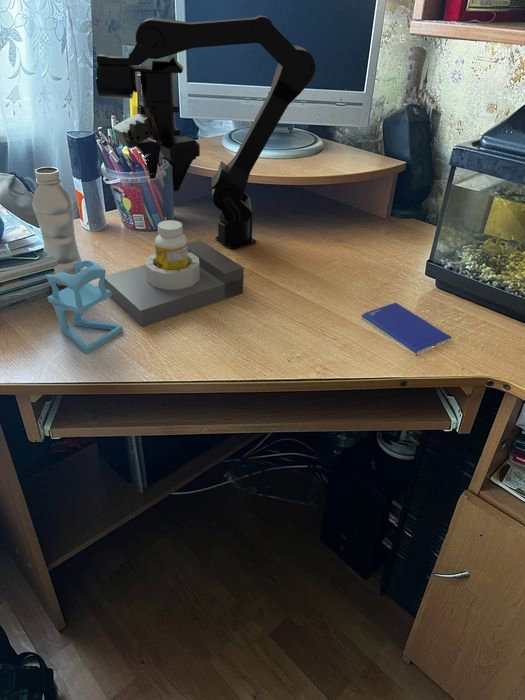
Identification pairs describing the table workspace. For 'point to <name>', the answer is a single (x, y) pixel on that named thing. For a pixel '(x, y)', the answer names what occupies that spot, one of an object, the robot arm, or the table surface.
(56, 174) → the plastic bottle
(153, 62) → the robot arm
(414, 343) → the hard drive
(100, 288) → the chair
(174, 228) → the supplement bottle
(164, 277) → the grey ring holder base
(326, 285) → the table surface
